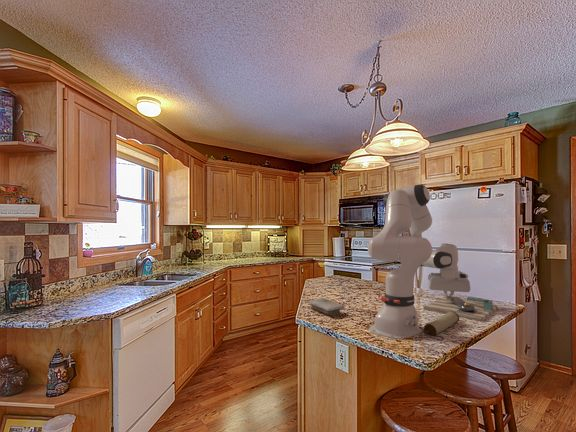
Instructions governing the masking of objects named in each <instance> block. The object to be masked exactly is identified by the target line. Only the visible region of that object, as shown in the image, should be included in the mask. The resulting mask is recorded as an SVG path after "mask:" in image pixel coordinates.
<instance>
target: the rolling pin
mask: <svg viewBox="0 0 576 432" xmlns="http://www.w3.org/2000/svg"><path fill="white" fill-rule="evenodd" d="M459 321H460V317H459V316H458V314H457V313H455V312H448V313H446V314H444V315H442V316H441V317H439V318H437V319H435V320H433V321H430V322H427V323H425V324H424V327H423V334H424V335H429V336H433V337H435V336H436V335H438V334H440V333H442V332H444V331H446V330H447V329H448V328H450V327H451V326H453V325H454V324H456V323H458V322H459Z"/></svg>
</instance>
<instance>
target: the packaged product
mask: <svg viewBox="0 0 576 432" xmlns="http://www.w3.org/2000/svg"><path fill="white" fill-rule="evenodd" d="M307 303H308V304H310V305H311V309H312V310H315V311H317V312H320V313H323V314H325V315H327V316H339V315H340V314H341V312H340V311H341V310H345V305H344V304H340V303H338V302H335V301H333V300H329V299H326V298H324V297H321V298H317V299H316V298H315V299H311V300H308V301H307Z"/></svg>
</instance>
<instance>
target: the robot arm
mask: <svg viewBox="0 0 576 432" xmlns="http://www.w3.org/2000/svg"><path fill="white" fill-rule="evenodd" d="M430 198H431V196H430V191H429V190H428V188H427V186H425V185H424V184H422V183H421V184H415V185H412V186H407V187H404V188H400V189H394V190H392V191H391V192H389V193H387V194H385V195H384V197H383V200H382V202H383V207H384V209H385V220H384V225H383V228H382V229H381V230H380V232H379V233H377V234H376V235H375V236H373V237H371V238H370V239H369V241H368V244H367V252H368V254H369V256H370V258H372V259H373V260H376V261H382V262H399V263H400V265H399V266H398V267H397V268H394V269H392V270H390V271H388V272H387V274H386V275H385V293H384V295H383V296H380V302H383V304H382V305H381V306H380V309H379V310H378V312H377V313H376V315H375V317H374V324H372V325H371V326H370V327H369V328H368V332H369V331H370V332H369V333H371V332H372V334H373V333H374V334H373V335H376V334H377V336H379V335H380V336H379V337H382V336H383V337H382V338H386V337H387V339H393V340H399V341H400V340H403V339H407V338H410V337H413V336H417V335H420V334H423V330H422V329H421V328H420V325H419V323H420V322H419V312H418V310H417V308H416V307H415V299H416V298H415V295H414V281H415V280H414V279H415V276H416V272H417V270H419V268H420V267H424V268H425V267H426V268H432V269H439V272H430V273H429V274H428V275H427V279H428V284H427V285H428V289H429V290H431V291H443V293H444V295H445V297H446V299H451V300H452V297H454V294H455V292H461V293H470V291H471V284H470V283H471V282H470V280H469V275H468V274H467V273H465V272H462V271H461V270H460V271H459V266H458V262H459V251H458V247H457V246H456V245H455V244H450V243H441V244H440V246H439V247H438V248H436V249H433V245H432V243H431V242H430V240H428V238H426V237H423V235H422V234H423V233H424V232H425V231H428V230H429V228H430V227H431V226H432V224H433V218H432V215H431V212H430V210H429V207H428V206H427V204H429V201H430ZM407 231H408V234H409V235H401V234H404V233H406V232H407ZM448 292H450V294H449V295H448Z"/></svg>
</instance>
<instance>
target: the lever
mask: <svg viewBox="0 0 576 432" xmlns="http://www.w3.org/2000/svg"><path fill="white" fill-rule="evenodd" d="M450 300H451V299H450ZM463 300H464V299H462V298H460V297H459V296H452V300H451V301H452V302H453V303H455V304H456V305H457V306H459V307H460V310H463V311H467V312H473V311H474V306H473V305H470V303H466V302H465V301H463Z"/></svg>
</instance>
